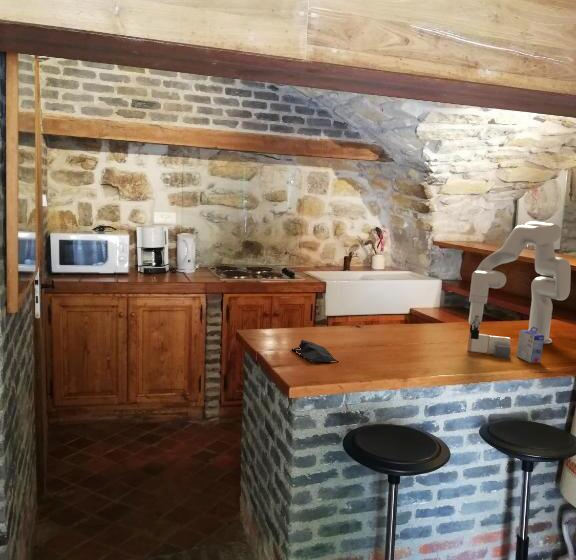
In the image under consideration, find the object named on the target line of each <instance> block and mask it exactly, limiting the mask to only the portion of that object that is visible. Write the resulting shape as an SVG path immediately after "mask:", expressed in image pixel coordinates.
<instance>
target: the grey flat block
mask: <svg viewBox="0 0 576 560" xmlns="http://www.w3.org/2000/svg"><path fill="white" fill-rule="evenodd" d="M488 338H489V335H488V334H486V333H485V334H484V333H479V338H478V339H471V333H470V332H469V333H468V340H467V341H468V343H467V352H473V353H475V352H476V353H481V354H482V353H483V354H484V353H485V354H487V347H488Z"/></svg>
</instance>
